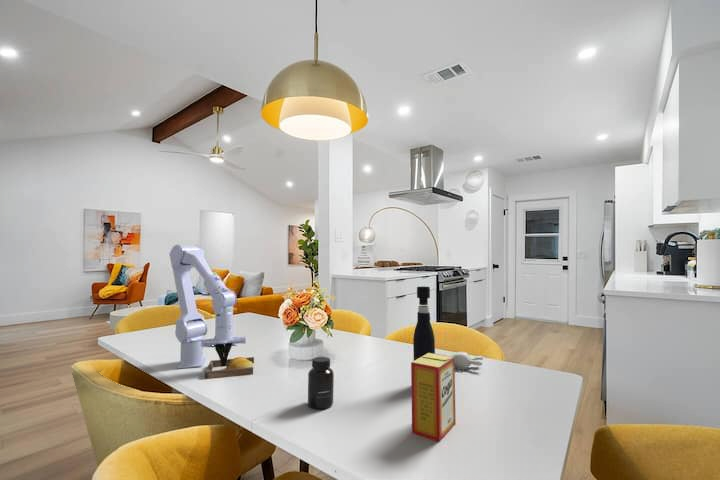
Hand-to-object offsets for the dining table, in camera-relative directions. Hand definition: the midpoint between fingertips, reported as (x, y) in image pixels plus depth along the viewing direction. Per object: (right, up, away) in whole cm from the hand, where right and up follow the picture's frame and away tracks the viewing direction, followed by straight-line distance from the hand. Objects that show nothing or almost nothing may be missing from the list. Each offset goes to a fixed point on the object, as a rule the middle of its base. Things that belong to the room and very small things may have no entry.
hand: (223, 365), depth 120 cm
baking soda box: (+64, 0, -40) cm, 76 cm away
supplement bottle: (+37, -1, -28) cm, 46 cm away
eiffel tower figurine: (-16, -4, +34) cm, 37 cm away
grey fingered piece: (+83, -2, +2) cm, 83 cm away
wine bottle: (+67, -1, -16) cm, 69 cm away
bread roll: (+5, -2, +1) cm, 6 cm away
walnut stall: (+2, -2, +1) cm, 3 cm away
